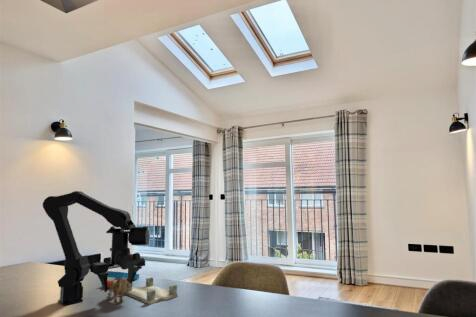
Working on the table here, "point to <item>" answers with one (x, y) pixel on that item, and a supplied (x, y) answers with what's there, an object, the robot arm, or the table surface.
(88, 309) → the table surface
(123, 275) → the lever
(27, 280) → the table surface
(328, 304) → the table surface
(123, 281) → the lion figurine
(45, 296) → the table surface
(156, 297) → the cradle jig
